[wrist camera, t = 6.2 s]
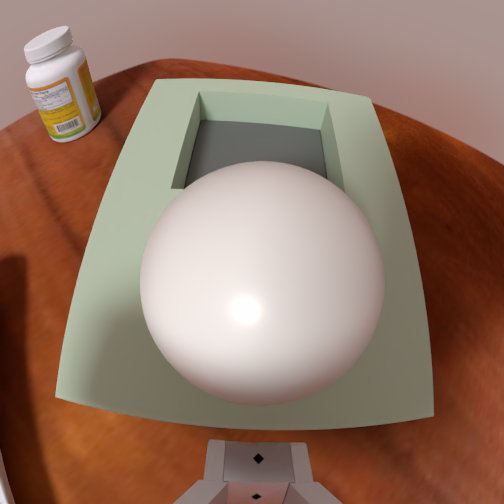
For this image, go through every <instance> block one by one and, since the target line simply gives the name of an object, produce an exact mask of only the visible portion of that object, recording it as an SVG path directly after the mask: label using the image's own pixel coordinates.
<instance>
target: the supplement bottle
mask: <svg viewBox="0 0 504 504" xmlns="http://www.w3.org/2000/svg"><path fill="white" fill-rule="evenodd" d="M71 44H72V36H71V32H70V28H69V27H68V26H61V27H57V28H54V29H51V30H49V31H47V32H44V33H43V34H41V35H39V36H37V37H36V38H34V39H33V40H31V41H30V42H29V43H28V44H27V45H26V46H25V47H24V52H25V56H26V59H27V61H28V63H30V64H32V65H31V66H30V67H29V69H28V71H27V73H26V82H27V85H28V88H29V90H30V92H31V94H32V97H33V99H34V102H35V104H36V106H37V109H38V111H39V113H40V115H41V118H42V120H43V122H44V124H45V126H46V129H47V131H48V133H49V135H50V137H51V138H52V139H53V140H54V141H56V142H69V141H73V140H76V139H78V138H80V137H82V136H84V135H86V134H87V133H88V132H90V131H91V130H92V129H93V128H94V127H95V126H96V124H97V123H98V122H99V120H100V117H101V109H100V106H99V103H98V99H97V96H96V93H95V90H94V86H93V83H92V79H91V76H90V72H89V68H88V65H87V60H86V57H85V54H84V51H83V50H82V49H81V48H80V47H77V46H71Z"/></svg>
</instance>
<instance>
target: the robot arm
mask: <svg viewBox="0 0 504 504" xmlns="http://www.w3.org/2000/svg"><path fill="white" fill-rule="evenodd" d="M225 443H226V446H225ZM0 504H1V503H0ZM173 504H342V503H341V502H340V501H339V500H338V499H337V498H335V497H334V496H333V495H332V494H331V493H330V492H329V491H328V490H326V489H325V488H324V487H323V486H322V485H321V484H320V483H319V482H313V477H312V471H311V466H310V460H309V455H308V450H307V445H306V443H305V442H298V443H288V442H279V443H262V442H257V443H248V442H235V441H223V440H212V439H209V442H208V448H207V456H206V464H205V473H204V480H198V481H197V482H196V483H195V484H194V485H193V486H192V487H191V488H189V489H188V490H187V491H186V492H185V493H184V494H183V495H182V496H181V497H180V498H179V499H177V500H176V501H175V502H174V503H173Z"/></svg>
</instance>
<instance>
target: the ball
mask: <svg viewBox="0 0 504 504" xmlns="http://www.w3.org/2000/svg"><path fill="white" fill-rule="evenodd" d="M384 290H385V280H384V266H383V260H382V255H381V251H380V248H379V245H378V242H377V239H376V237H375V235H374V232H373V230H372V228H371V226H370V224H369V222H368V220H367V219H366V217H365V216H364V214H363V213H362V212H361V210H360V209H359V208H358V206H357V205H356V204H355V203H354V202H353V201H352V200H351V199H350V198H349V197H348V196H347V195H346V194H345V193H344V192H343V191H342V190H341V189H340V188H338V187H337V186H336V185H334V184H333V183H332V182H330V181H329V180H327V179H325V178H324V177H322V176H320V175H318V174H316V173H314V172H312V171H310V170H307V169H304V168H301V167H299V166H295V165H291V164H287V163H281V162H274V161H253V162H244V163H238V164H234V165H231V166H227V167H224V168H221V169H218V170H216V171H213V172H211V173H208V174H207V175H205V176H203V177H201V178H199V179H198V180H196V181H195V182H193V183H192V184H190V185H189V186H188V187H186V188H185V189H184V190H183V191H182V192H181V193H180V194H179V195H177V196H176V197H175V198H174V199H173V200H172V201H171V202H170V204H169V205H168V206H167V207H166V208H165V210H164V211H163V213H162V214H161V216H160V217H159V219H158V220H157V222H156V224H155V225H154V227H153V229H152V231H151V234H150V236H149V238H148V240H147V243H146V247H145V250H144V253H143V258H142V264H141V271H140V296H141V303H142V309H143V314H144V317H145V320H146V324H147V327H148V329H149V332H150V334H151V336H152V338H153V340H154V342H155V344H156V345H157V347H158V348H159V350H160V351H161V353H162V354H163V356H164V357H165V358H166V360H167V361H168V362H169V363H170V364H171V365H172V367H173V368H174V369H175V370H176V371H177V372H178V373H179V374H180V375H182V376H183V377H184V378H185V379H186V380H188V381H189V382H190V383H191V384H193V385H195V386H196V387H198V388H200V389H201V390H203V391H205V392H206V393H209V394H211V395H213V396H216V397H218V398H221V399H223V400H227V401H231V402H235V403H239V404H246V405H255V406H266V405H279V404H285V403H290V402H294V401H297V400H300V399H303V398H306V397H309V396H311V395H313V394H315V393H317V392H319V391H321V390H323V389H324V388H326V387H328V386H329V385H331V384H332V383H334V382H335V381H336V380H338V379H339V378H341V377H342V376H343V375H344V374H345V373H346V372H347V371H348V370H349V369H350V368H351V367H352V366H353V365H354V363H355V362H356V361H357V360H358V358H359V357H360V356H361V355H362V353H363V352H364V350H365V349H366V347H367V346H368V344H369V342H370V340H371V338H372V337H373V335H374V332H375V329H376V327H377V324H378V322H379V318H380V315H381V310H382V306H383V301H384Z"/></svg>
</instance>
